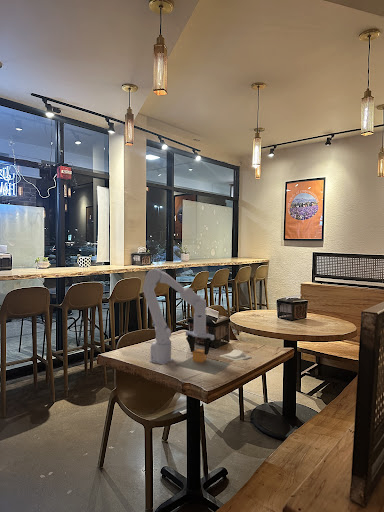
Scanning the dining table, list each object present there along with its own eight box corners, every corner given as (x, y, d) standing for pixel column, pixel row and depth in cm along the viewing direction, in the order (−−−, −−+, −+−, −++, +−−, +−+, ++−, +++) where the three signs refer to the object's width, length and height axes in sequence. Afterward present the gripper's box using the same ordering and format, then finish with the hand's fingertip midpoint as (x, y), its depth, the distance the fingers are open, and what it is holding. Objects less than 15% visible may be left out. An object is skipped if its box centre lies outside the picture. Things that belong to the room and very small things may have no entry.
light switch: (252, 351, 170) (236, 355, 161) (252, 360, 170) (236, 364, 161) (234, 347, 178) (218, 350, 169) (234, 355, 178) (218, 359, 169)
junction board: (175, 367, 155) (175, 365, 154) (193, 358, 168) (193, 356, 168) (214, 376, 144) (214, 374, 144) (231, 365, 158) (231, 363, 158)
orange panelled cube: (192, 360, 161) (192, 351, 161) (197, 358, 165) (197, 348, 165) (201, 362, 159) (201, 352, 159) (206, 359, 163) (206, 350, 162)
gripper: (182, 323, 162) (181, 352, 162) (209, 327, 154) (208, 357, 155) (190, 321, 168) (189, 348, 168) (216, 324, 160) (216, 353, 161)
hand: (199, 352), depth 162 cm, fingers open, 7 cm apart
